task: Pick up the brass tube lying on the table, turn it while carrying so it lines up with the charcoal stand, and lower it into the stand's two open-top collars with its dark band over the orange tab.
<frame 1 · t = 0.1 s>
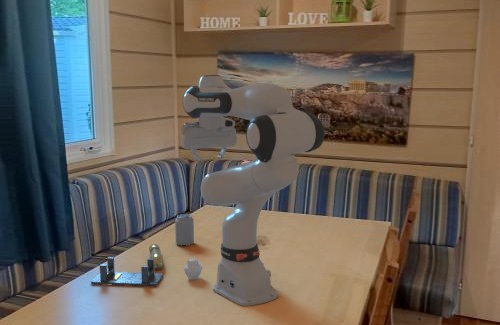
hand: (208, 159, 178), 39 cm above the table, tool pointing down, fingers open, 8 cm apart
stand: (128, 280, 168), on the table
muffin: (193, 278, 170), on the table
can: (184, 244, 206), on the table
tube: (156, 261, 185), on the table
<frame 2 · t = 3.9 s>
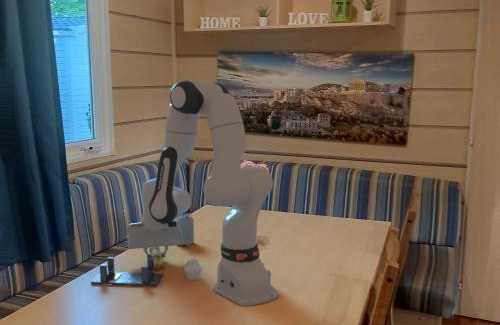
hand: (156, 257, 185), 2 cm above the table, tool pointing down, fingers closed on tube, 4 cm apart
tube: (156, 261, 185), on the table, touching gripper
everything else where it was.
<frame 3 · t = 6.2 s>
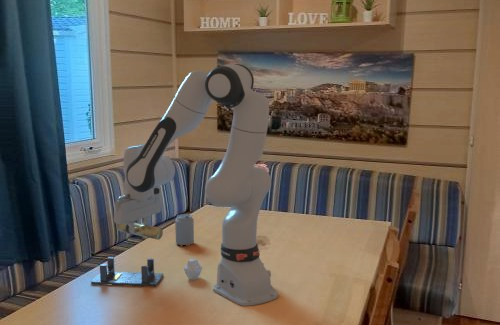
hand: (139, 230, 173), 15 cm above the table, tool pointing down, fingers closed on tube, 4 cm apart
tube: (139, 235, 174), point 13 cm above the table, touching gripper
everything else where it was.
when the fingers open (7 cm above the table, at t = 8.3 s): tube drops 2 cm, resting on stand.
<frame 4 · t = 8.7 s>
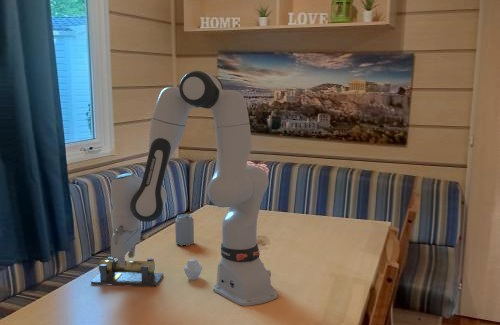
hand: (127, 261, 167), 7 cm above the table, tool pointing down, fingers open, 8 cm apart
tube: (127, 271, 168), point 3 cm above the table, tilted 12°, touching stand
everything else where it was.
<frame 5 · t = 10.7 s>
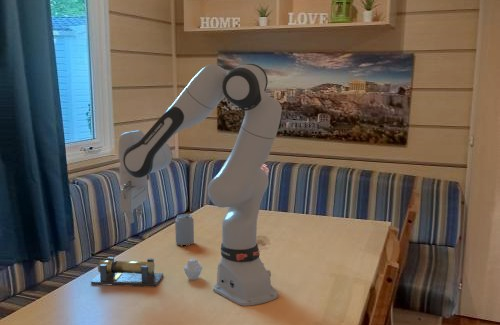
hand: (135, 218, 169), 20 cm above the table, tool pointing down, fingers open, 8 cm apart
tube: (127, 271, 168), point 3 cm above the table, tilted 27°, touching stand
everything else where it was.
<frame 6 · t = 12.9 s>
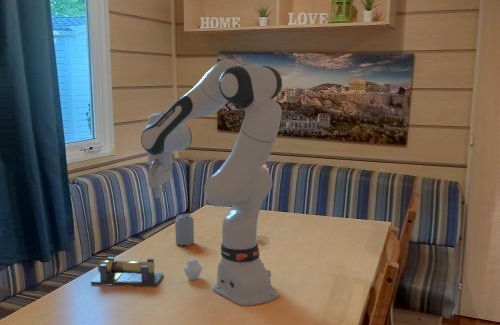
hand: (161, 194, 184), 25 cm above the table, tool pointing down, fingers open, 8 cm apart
nothing on the table moved.
at the end: tube 0.0 cm off-centre on the stand, point 3.2 cm above the stand's base; tube touching stand; the gripper is holding nothing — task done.
